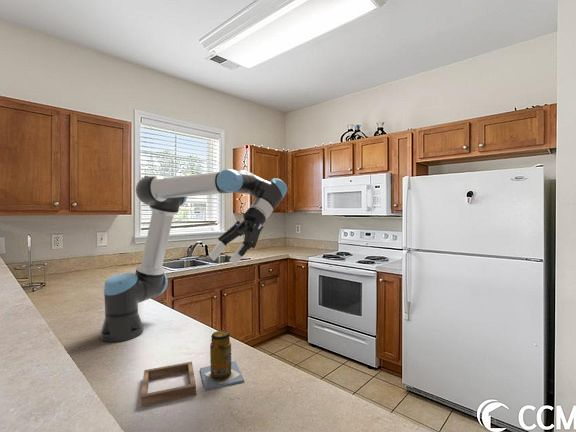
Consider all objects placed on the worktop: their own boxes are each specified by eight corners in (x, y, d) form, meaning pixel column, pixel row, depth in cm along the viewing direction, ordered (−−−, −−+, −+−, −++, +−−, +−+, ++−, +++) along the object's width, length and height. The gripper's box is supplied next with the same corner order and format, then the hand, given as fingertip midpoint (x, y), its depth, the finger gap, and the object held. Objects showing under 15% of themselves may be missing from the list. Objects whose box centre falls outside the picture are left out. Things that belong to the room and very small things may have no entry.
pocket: (144, 378, 93) (144, 370, 93) (192, 369, 97) (191, 361, 97) (140, 407, 79) (140, 397, 79) (196, 394, 84) (196, 385, 84)
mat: (200, 369, 97) (200, 367, 97) (235, 363, 101) (235, 361, 101) (204, 390, 86) (204, 388, 86) (244, 381, 90) (244, 379, 90)
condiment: (224, 365, 98) (223, 327, 98) (241, 375, 93) (240, 334, 92) (203, 374, 93) (202, 334, 93) (220, 385, 87) (219, 342, 87)
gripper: (286, 221, 105) (249, 272, 96) (244, 220, 124) (210, 262, 114) (273, 205, 102) (234, 257, 92) (233, 206, 120) (196, 249, 111)
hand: (221, 260), depth 103 cm, fingers open, 13 cm apart
